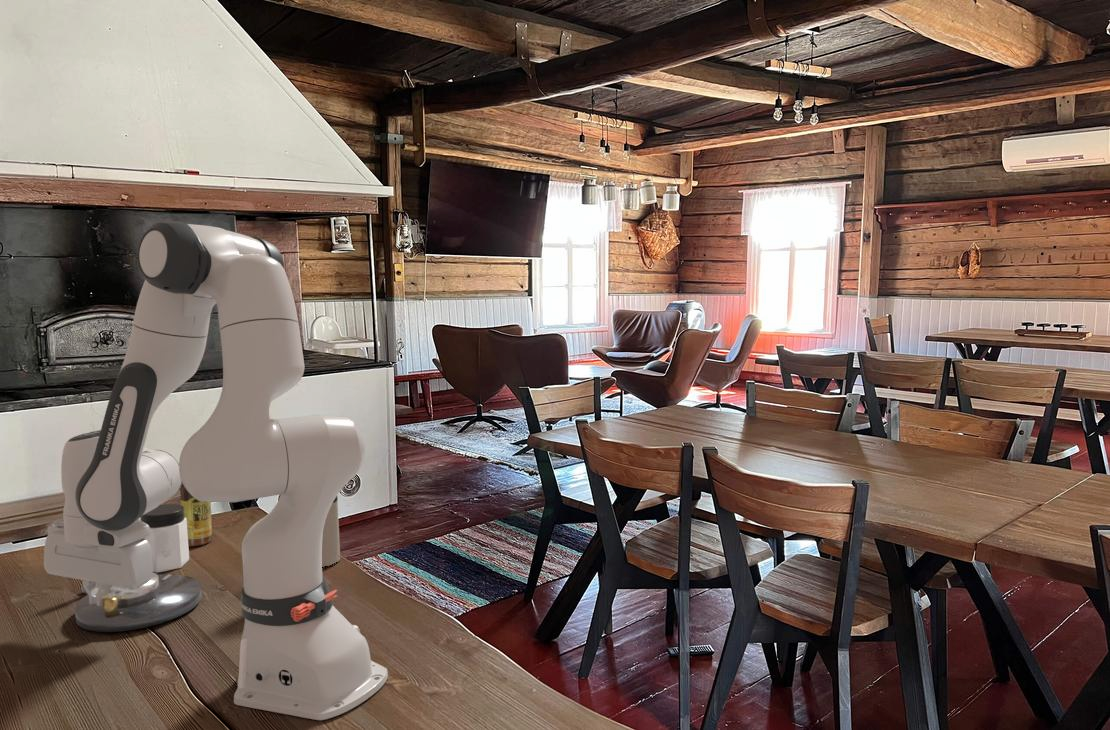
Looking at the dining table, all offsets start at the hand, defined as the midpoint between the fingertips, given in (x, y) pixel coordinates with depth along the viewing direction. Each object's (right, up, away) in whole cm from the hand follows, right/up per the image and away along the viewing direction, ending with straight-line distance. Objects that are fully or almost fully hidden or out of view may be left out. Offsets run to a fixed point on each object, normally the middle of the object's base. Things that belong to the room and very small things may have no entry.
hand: (98, 604), depth 130 cm
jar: (-4, -1, +30) cm, 30 cm away
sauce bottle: (-3, 0, +43) cm, 43 cm away
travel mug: (+28, -1, +31) cm, 42 cm away
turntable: (+3, -4, +8) cm, 9 cm away
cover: (+1, -1, +7) cm, 8 cm away
